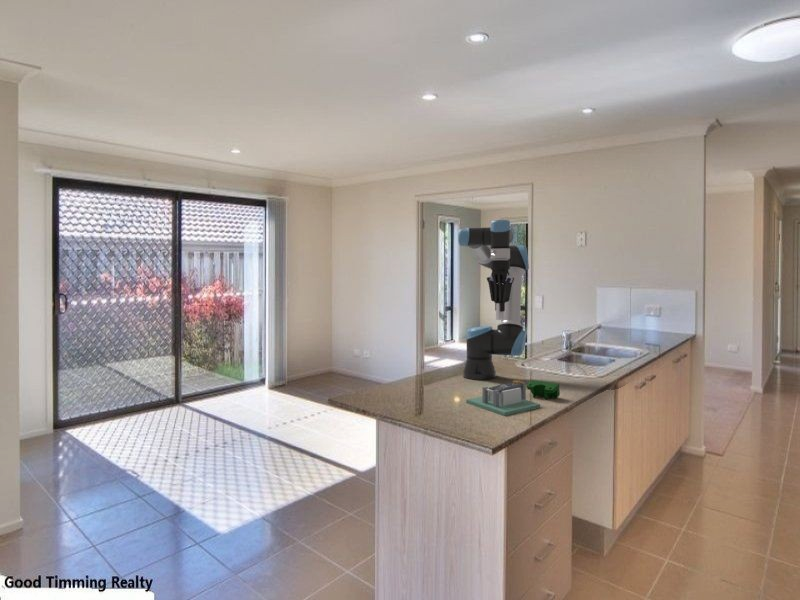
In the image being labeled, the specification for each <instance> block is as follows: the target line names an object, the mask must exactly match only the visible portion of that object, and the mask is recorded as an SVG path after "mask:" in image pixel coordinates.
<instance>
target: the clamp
mask: <svg viewBox="0 0 800 600" xmlns="http://www.w3.org/2000/svg"><path fill="white" fill-rule="evenodd" d="M526 390H529V391H530V392H531V394H532V398H536V397H538V396H539V397H544V400H547V401H548V400H549V398H551V399H557V398H559V396H560V394H561V392H560V384H559V383H555V382H548V381H544V380H537V379H536V380H535V379H531V380H530V381H529V382H528V383H526Z"/></svg>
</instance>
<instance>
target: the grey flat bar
mask: <svg viewBox="0 0 800 600" xmlns="http://www.w3.org/2000/svg"><path fill="white" fill-rule="evenodd" d="M521 382H522V380H519V379H515V380H512V381H511V382H510V381H509V382H506V383H502V384H499V385H498V384H497V385H495V386H494V387H493V386H489V387H490V388H489V387H488V389H490V390H499V392H501V391H505V390H508V389H512V388H516V387H519V386H522V383H521Z"/></svg>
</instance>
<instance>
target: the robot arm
mask: <svg viewBox="0 0 800 600" xmlns="http://www.w3.org/2000/svg"><path fill="white" fill-rule="evenodd" d="M457 239H458V240H457V241H458V245H459V246H460V247H468V248H469V249H470V251H471V253H473V256H474V259H475V261H476V262H477V263H478V264H480V265H481V266H482V267H485V268H487V269H490V270H491V275H490V276H488V277H486V280H487V283H488V287H489V288H488V289H489V293H490V300H491V302H494V309H495V319H496V321H500V322H499V323H498V324H497V329H494V328H493V327H492V326H491V325H482V326H481V325H480V326H475V327H470V328H468V329H467V331H466V337H465V339H466V361H465V363H464V364H465V365H464V367H463V370H462V376H463V378H465V379H470V380H481V381H482V380H483V381H484V380H491V379H495V378H496V377H497V375H496V370H495V366H494V363H493V356H509V357H510V356H511V357H513V356H514V357H515V356H516V357H517V356H521V355H523V353H524V351H525V346H526V341H527V339H526V338H527V330H525V329H524V326H523V325H522V324H521V307H522V306H521V304H522V303H521V302H522V285H523V284H522V281H523V276H524V275H525V274H526V271H527V270H529V269H530V265H529V257H528V249H527V246H525V245H522V244H521V245H518V244H515V245H514V244H513V245H511V243H512V242H513V240H514V232H513V231H512V229H511V221H510V220H509V219H494V220H491V222H490V227H489V226H488V227H465V228H460V229H459V230H458V237H457Z"/></svg>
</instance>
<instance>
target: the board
mask: <svg viewBox="0 0 800 600" xmlns="http://www.w3.org/2000/svg"><path fill="white" fill-rule="evenodd" d="M521 383H522V386H519V387H516V388H512V389H508V390H505V391H501V392H499V390H490V389H489V388H490V387H491V386H489V387H488V386H482V396H478V397H473V398H469V399H467V398H466V400H465V401H466V404H469V405H472V406H475V407H477V408H479V409H480V408H481V409H483V410H487V411H489V412H492V413H495V414H497V415H501V416H503V417H506V416H509V415H515V414H518V413H523V412H526V411H532V410H535V409H540V408H541V403H538V402H534V401H531V400H528V399H527V397H526V394H527V393H526V391H527V383H526V382H525V381H524V382H523V381H521ZM492 387H494V386H492Z"/></svg>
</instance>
